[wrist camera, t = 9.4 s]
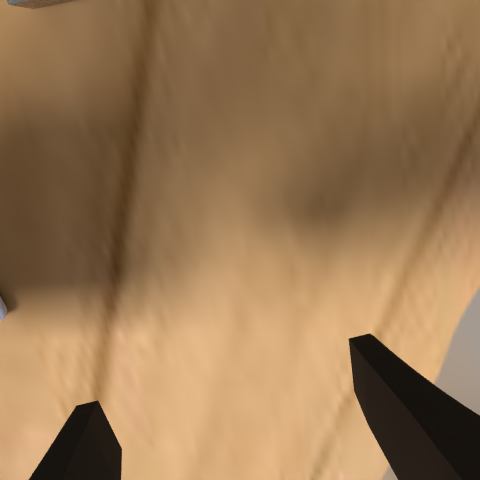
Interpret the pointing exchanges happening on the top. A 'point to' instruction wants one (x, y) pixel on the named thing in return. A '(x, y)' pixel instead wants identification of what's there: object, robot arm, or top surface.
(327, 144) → the top surface
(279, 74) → the top surface
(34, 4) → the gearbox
